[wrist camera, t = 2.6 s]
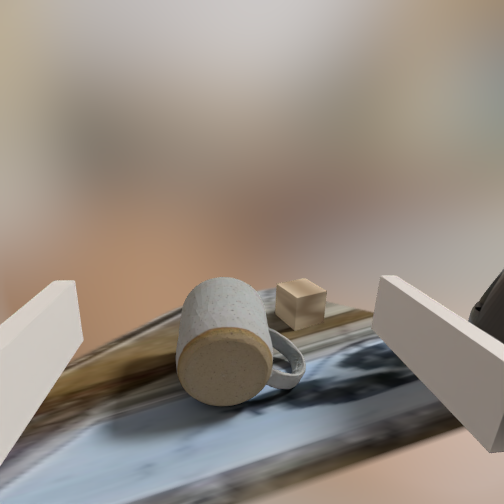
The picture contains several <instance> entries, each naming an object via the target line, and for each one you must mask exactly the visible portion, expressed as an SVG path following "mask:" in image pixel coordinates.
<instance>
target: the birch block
mask: <svg viewBox="0 0 504 504" xmlns="http://www.w3.org/2000/svg"><path fill="white" fill-rule="evenodd" d="M326 295H327V291H326V290H324V289H322V288H320V287H319V286H317V285H316V284H314V283H312V282H310V281H309V280H307V279H305V278H303V279H298V280H293V281H289V282H283V283H278V284H277V288H276V306H275V314H276V315H277V316H278V317H279V318H280V319H281V320H283V321H284V322H285V323H286V324H287V325H288V326H290V327H291V328H292V329H293V330H294V331H296V330H299V329H303V328H306V327H310V326H313V325H316V324H320V323H323V322H324V313H325V304H326Z"/></svg>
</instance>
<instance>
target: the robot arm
mask: <svg viewBox="0 0 504 504" xmlns="http://www.w3.org/2000/svg"><path fill="white" fill-rule="evenodd" d="M371 329H372V330H373V331H374V332H375V333H376V334H377V335H378V336H379V337H380V338H381V339H382V340H383V341H384V342H385V343H386V344H387V345H388V347H389V348H390V349H391V350H392V351H393V352H394V353H395V354H396V355H397V356H398V357H399V358H400V359H401V360H402V361H403V362H404V363H405V364H406V366H407V367H408V368H409V369H410V370H411V371H412V372H413V373H414V374H415V375H416V376H417V377H418V378H419V379H420V380H421V381H422V382H423V383H424V384H425V386H426V387H427V388H428V389H429V390H430V391H431V392H432V393H433V394H434V395H435V396H436V397H437V398H438V399H439V400H440V401H441V402H442V403H443V405H444V406H445V407H446V408H447V409H448V410H449V411H450V412H451V413H452V414H453V415H454V416H455V417H456V418H457V419H458V420H459V421H460V422H461V423H462V425H463V426H464V427H465V428H466V429H467V430H468V431H469V432H470V433H471V434H472V435H473V436H474V437H475V438H476V439H477V440H478V441H479V442H480V443H481V444H482V445H483V447H484V448H486V450H487V451H488V452H489V453H496V452H504V269H503V270H502V272H501V273H500V274H499V275H498V277H497V278H496V279H495V280H494V282H493V283H492V284H491V285H490V287H489V288H488V289H487V291H486V292H485V293H484V295H483V296H482V297H481V299H480V301H479V302H477V303H476V304H475V306H474V307H473V308H472V310H471V313H470V317H469V320H468V321H467V320H465V319H463V318H462V317H460V316H459V315H457V314H456V313H453V312H452V311H451V310H449V309H448V308H446V307H445V306H443V305H441V304H440V303H438V302H437V301H435V300H433V299H432V298H430V297H429V296H427V295H426V294H424V293H422V292H421V291H419V290H418V289H416V288H415V287H413V286H412V285H410V284H409V283H407V282H405V281H404V280H402V279H401V278H399V277H398V276H395V275H391V276H381V277H380V282H379V287H378V293H377V299H376V304H375V310H374V316H373V321H372V327H371ZM82 342H83V335H82V328H81V320H80V314H79V307H78V299H77V292H76V285H75V281H74V280H66V281H53V282H52V283H51V284H49V285H48V286H47V287H46V288H45V289H43V290H42V291H41V292H40V293H39V294H37V295H36V296H35V297H34V298H33V299H31V300H30V301H29V302H28V303H26V304H25V305H24V306H23V307H22V308H21V309H19V310H18V311H17V312H16V313H14V314H13V315H12V316H11V317H10V318H8V319H7V320H6V321H5V322H3V323H2V324H1V325H0V465H1V464H2V462H3V461H4V459H5V458H6V456H7V455H8V453H9V452H10V450H11V449H12V447H13V446H14V444H15V443H16V441H17V440H18V438H19V437H20V435H21V434H22V432H23V431H24V429H25V428H26V426H27V425H28V423H29V422H30V420H31V419H32V417H33V416H34V414H35V413H36V411H37V410H38V408H39V407H40V405H41V404H42V402H43V400H44V399H45V397H46V396H47V394H48V393H49V391H50V390H51V388H52V387H53V385H54V384H55V382H56V381H57V379H58V378H59V376H60V375H61V373H62V372H63V370H64V369H65V367H66V366H67V364H68V363H69V361H70V360H71V358H72V357H73V355H74V354H75V352H76V351H77V349H78V348H79V346H80V345H81V343H82Z"/></svg>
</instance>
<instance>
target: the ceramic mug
mask: <svg viewBox="0 0 504 504" xmlns="http://www.w3.org/2000/svg"><path fill="white" fill-rule="evenodd" d="M272 347H273V348H275V349H276V350H278V351H279V352H280V353H281V354H283V355H284V356H285V357H286V358H287V359H288V361H289V362H290V364H291V368H292V373H291V374H289V373H284V372H281V371H279V370H275V369H273V368H272V364H273V348H272ZM176 367H177V374H178V378H179V381H180V383H181V385H182V387H183V388H184V389H185V391H186V392H187V393H188V394H189V395H190V396H192V397H193V398H195V399H196V400H198V401H200V402H202V403H205V404H208V405H214V406H232V405H236V404H240V403H242V402H245V401H247V400H249V399H251V398H252V397H254V396H256V395H257V394H258V393H259V392H260V391H261V390H262V389H263V388H264V386H265V385H269V386H270V387H273V388H277V389H291V388H293V387H295V386H296V385H297V384H298V383H299V381H300V379H301V378H302V376H303V374H304V373H305V369H306V364H305V360H304V357H303V355H302V354H301V352H300V351H299V349H298V348H297V347H296V346H295V345H294V344H293V343H292V342H291V341H290V340H288V339H287V338H286V337H284V336H283V335H281V334H280V333H278V332H277V331H275V330H273V329H270V328H269V327H268V324H267V318H266V312H265V308H264V304H263V301H262V299H261V297H260V296H259V294H258V293H257V292H256V291H255V290H254V289H253V288H252V287H251V286H250V285H248V284H246V283H245V282H243V281H241V280H238V279H234V278H227V277H220V278H213V279H210V280H207V281H204V282H202V283H200V284H199V285H198V286H196V287H195V288H194V289H193V290H192V291H191V292H190V293H189V295H188V296H187V298H186V300H185V302H184V304H183V308H182V315H181V322H180V329H179V338H178V343H177V350H176Z"/></svg>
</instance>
